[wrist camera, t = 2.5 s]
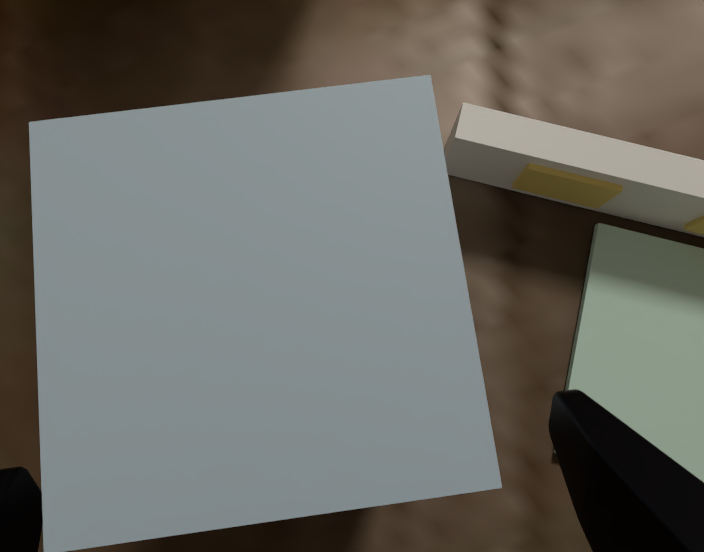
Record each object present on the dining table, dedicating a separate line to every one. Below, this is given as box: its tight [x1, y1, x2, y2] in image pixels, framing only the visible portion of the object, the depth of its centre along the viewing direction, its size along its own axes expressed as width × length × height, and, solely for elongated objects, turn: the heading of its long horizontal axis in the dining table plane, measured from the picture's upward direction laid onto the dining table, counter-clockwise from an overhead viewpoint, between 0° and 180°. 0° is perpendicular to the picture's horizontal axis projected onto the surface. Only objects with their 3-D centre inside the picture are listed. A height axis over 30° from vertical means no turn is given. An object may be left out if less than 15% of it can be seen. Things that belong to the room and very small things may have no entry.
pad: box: [554, 223, 704, 482], centre depth 19 cm, size 8×8×1 cm
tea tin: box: [29, 75, 502, 552], centre depth 13 cm, size 5×5×13 cm
